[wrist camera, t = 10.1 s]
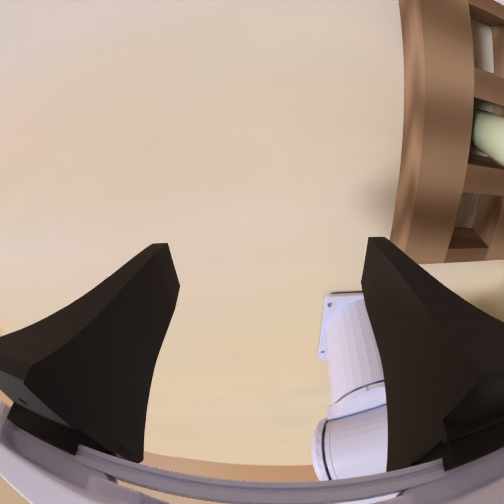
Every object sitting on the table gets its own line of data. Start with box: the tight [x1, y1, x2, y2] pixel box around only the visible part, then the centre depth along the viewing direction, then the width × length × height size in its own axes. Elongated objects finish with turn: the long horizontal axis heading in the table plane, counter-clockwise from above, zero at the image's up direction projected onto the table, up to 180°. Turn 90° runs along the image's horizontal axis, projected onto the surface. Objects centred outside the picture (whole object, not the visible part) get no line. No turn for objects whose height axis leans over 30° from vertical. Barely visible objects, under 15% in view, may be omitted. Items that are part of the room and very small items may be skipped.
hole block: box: [390, 0, 504, 264], centre depth 14 cm, size 20×12×3 cm, turn 5°
